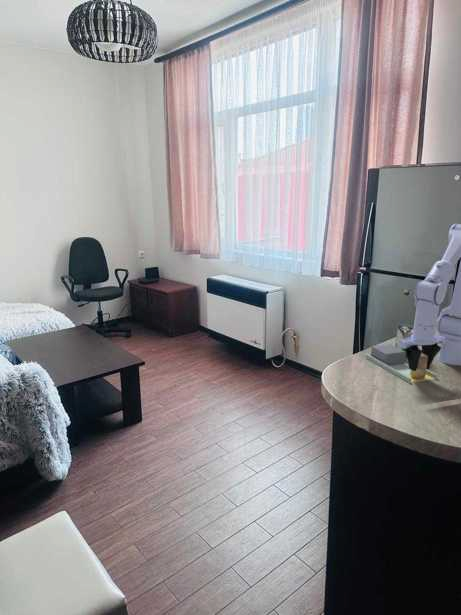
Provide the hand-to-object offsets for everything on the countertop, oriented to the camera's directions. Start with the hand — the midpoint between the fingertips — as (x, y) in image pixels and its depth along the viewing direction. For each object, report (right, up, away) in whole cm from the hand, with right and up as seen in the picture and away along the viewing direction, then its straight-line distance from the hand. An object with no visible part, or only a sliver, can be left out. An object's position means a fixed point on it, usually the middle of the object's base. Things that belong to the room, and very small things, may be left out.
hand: (418, 368), depth 122 cm
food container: (+4, +1, +19) cm, 19 cm away
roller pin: (0, -2, +1) cm, 2 cm away
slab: (-4, +1, +13) cm, 14 cm away
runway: (-3, -2, +8) cm, 9 cm away
